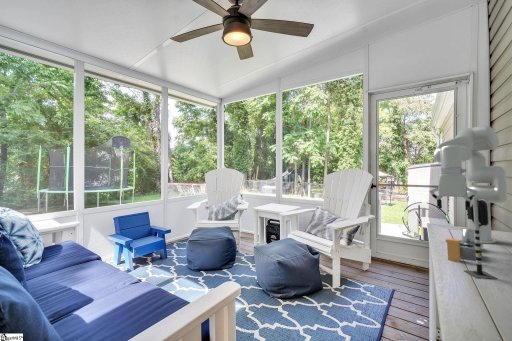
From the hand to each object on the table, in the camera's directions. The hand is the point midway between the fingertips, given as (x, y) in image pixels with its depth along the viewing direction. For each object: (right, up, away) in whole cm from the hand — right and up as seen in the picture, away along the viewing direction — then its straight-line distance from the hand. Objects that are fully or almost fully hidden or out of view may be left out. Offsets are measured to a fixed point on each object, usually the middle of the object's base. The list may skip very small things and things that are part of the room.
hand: (453, 209), depth 111 cm
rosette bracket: (+14, -23, +8) cm, 28 cm away
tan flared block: (-1, -23, -2) cm, 23 cm away
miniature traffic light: (-5, -23, -18) cm, 29 cm away
